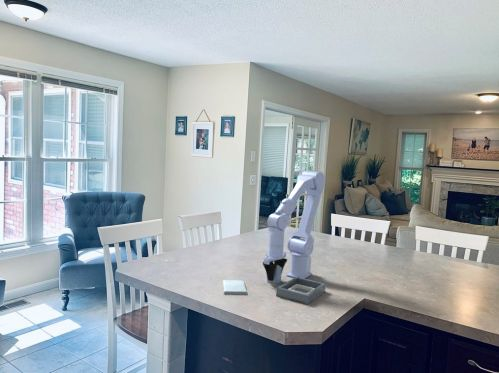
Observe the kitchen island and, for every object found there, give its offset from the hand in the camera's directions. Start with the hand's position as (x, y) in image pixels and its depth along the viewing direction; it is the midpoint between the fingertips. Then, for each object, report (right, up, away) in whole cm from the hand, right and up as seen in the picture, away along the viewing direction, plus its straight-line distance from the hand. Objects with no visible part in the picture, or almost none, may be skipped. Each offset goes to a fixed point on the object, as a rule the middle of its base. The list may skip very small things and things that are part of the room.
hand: (274, 278), depth 152 cm
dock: (+9, -3, -12) cm, 15 cm away
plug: (0, -2, 0) cm, 2 cm away
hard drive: (-15, -2, -9) cm, 18 cm away
